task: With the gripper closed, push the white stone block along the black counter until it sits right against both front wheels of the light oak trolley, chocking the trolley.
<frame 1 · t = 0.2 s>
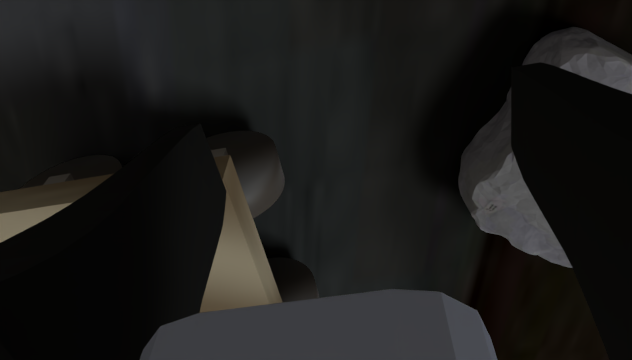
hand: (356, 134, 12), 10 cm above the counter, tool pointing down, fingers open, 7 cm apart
trolley: (181, 223, 27), on the counter
stone block: (584, 154, 24), on the counter
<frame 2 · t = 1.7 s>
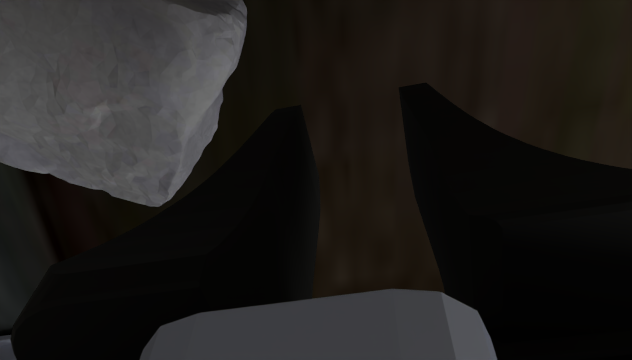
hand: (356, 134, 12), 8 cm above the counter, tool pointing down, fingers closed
stone block: (83, 50, 21), on the counter
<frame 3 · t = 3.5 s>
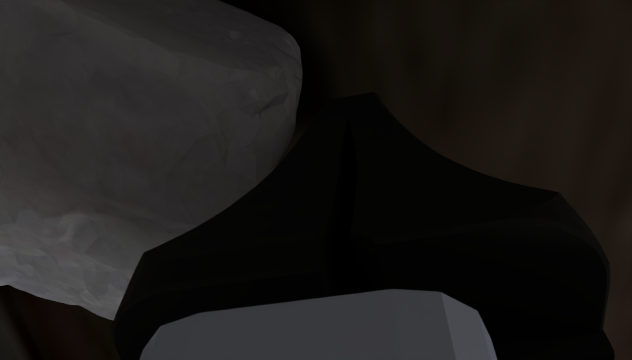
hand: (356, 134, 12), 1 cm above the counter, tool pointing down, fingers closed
stone block: (53, 109, 14), on the counter, touching gripper
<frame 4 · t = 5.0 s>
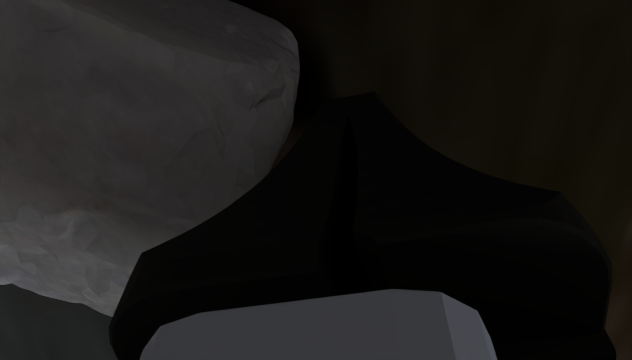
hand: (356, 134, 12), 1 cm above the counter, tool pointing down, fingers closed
stone block: (53, 107, 14), on the counter, touching gripper
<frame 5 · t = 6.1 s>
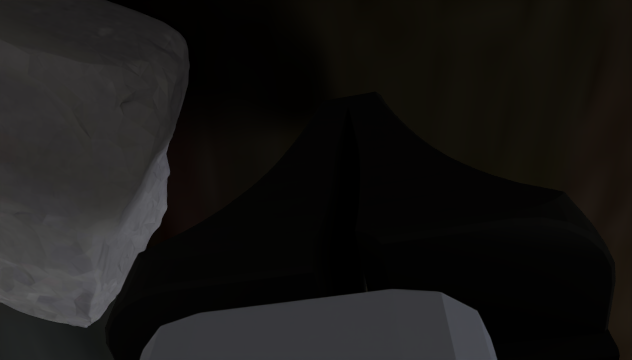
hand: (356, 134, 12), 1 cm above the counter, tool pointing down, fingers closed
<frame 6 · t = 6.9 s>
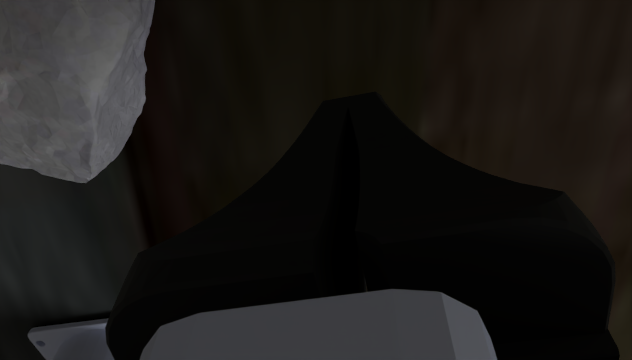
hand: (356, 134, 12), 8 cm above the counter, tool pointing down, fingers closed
stone block: (1, 25, 20), on the counter
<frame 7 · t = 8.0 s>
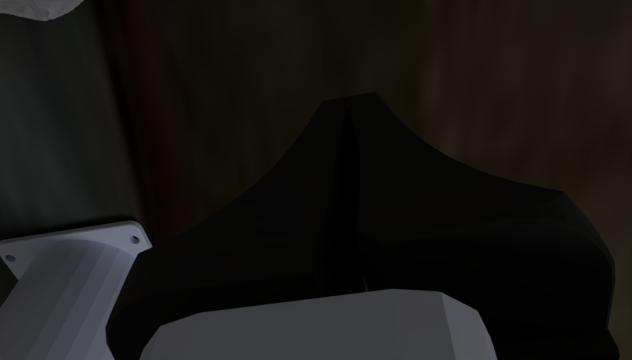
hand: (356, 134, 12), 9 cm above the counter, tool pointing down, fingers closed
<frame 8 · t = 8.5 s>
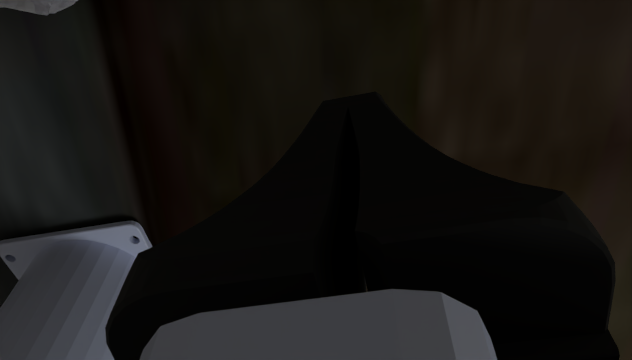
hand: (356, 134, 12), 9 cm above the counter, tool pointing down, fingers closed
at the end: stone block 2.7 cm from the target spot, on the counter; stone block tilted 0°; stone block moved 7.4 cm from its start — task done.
